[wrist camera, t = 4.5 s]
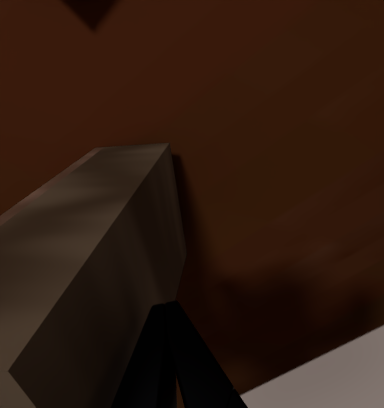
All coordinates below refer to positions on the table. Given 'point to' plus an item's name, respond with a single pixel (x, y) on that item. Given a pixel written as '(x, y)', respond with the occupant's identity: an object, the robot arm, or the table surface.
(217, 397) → the robot arm
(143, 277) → the streaky grey slab
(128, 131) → the table surface
